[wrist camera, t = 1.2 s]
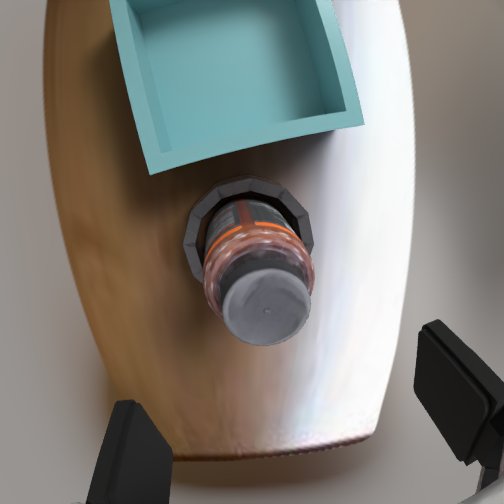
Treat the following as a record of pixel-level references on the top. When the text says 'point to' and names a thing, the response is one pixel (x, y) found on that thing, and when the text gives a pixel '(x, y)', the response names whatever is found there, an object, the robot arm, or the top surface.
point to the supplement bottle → (257, 272)
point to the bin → (231, 74)
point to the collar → (232, 188)
